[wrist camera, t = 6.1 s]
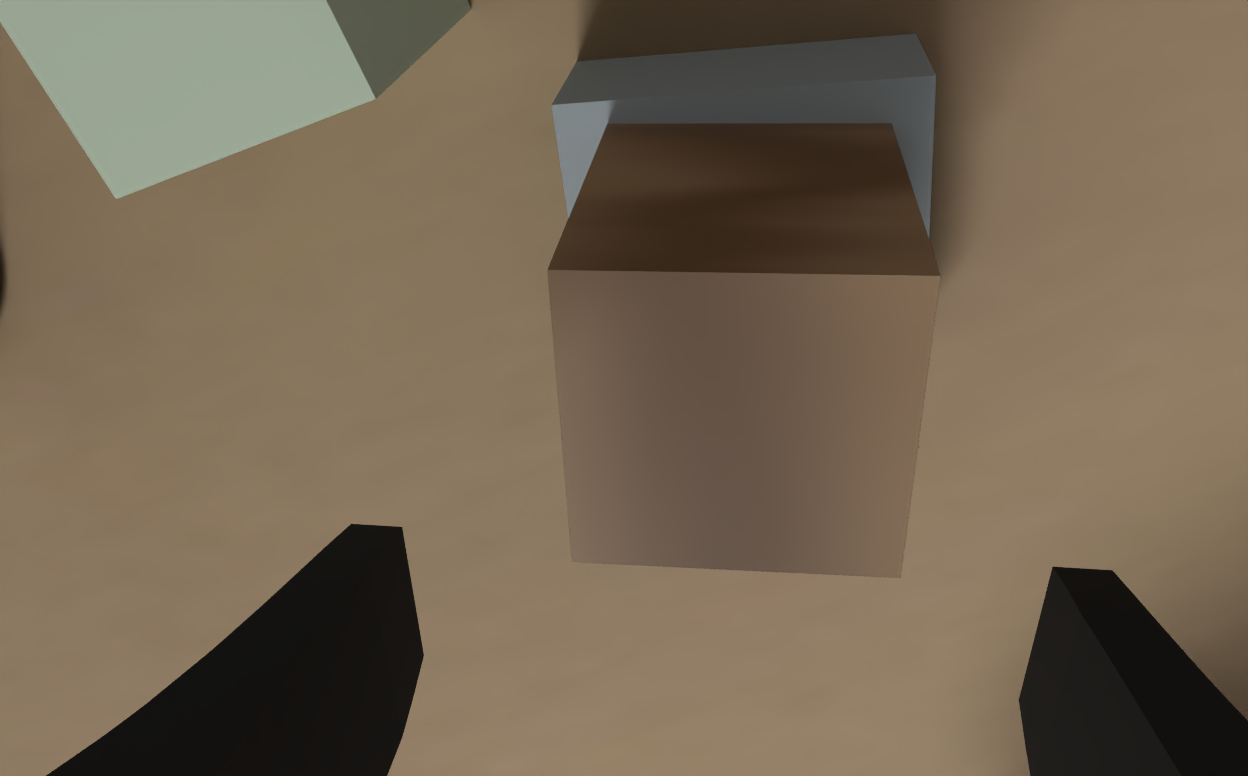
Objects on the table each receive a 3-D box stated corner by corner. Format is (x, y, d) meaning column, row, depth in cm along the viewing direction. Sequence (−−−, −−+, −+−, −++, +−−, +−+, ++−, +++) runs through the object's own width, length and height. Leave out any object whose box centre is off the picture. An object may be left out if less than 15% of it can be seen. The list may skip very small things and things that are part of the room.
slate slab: (913, 28, 19) (935, 75, 16) (904, 327, 22) (922, 406, 19) (579, 56, 19) (551, 105, 17) (616, 339, 23) (597, 415, 20)
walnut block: (891, 123, 16) (939, 276, 12) (867, 370, 19) (900, 577, 14) (607, 123, 17) (547, 269, 12) (618, 363, 19) (571, 562, 15)
